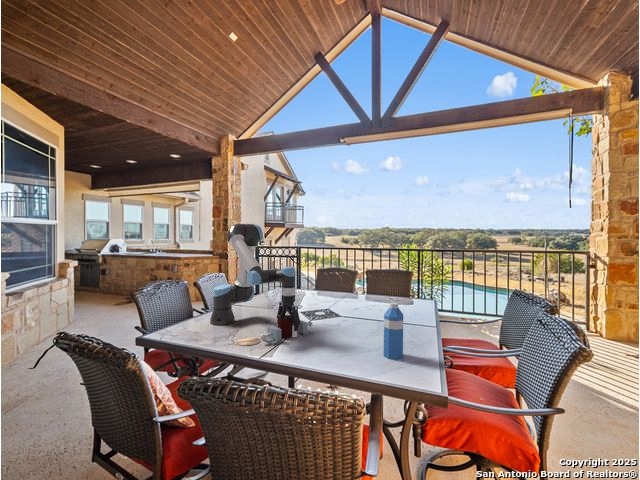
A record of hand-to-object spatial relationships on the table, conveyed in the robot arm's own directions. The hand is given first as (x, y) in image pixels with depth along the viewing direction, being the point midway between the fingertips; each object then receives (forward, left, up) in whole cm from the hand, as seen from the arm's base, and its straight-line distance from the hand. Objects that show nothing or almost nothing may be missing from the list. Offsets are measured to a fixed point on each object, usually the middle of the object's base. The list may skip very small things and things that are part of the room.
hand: (288, 334), depth 166 cm
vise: (0, 0, -2) cm, 2 cm away
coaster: (-8, -20, -2) cm, 22 cm away
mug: (0, 0, -2) cm, 2 cm away
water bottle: (+54, +21, -2) cm, 58 cm away
